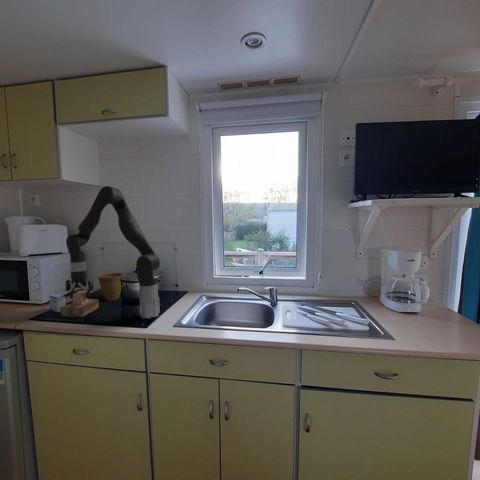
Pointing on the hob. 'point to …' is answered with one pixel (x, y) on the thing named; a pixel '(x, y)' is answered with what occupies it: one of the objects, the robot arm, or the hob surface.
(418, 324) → the hob surface
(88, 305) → the walnut plinth
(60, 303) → the medicine box
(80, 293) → the terracotta block
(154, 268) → the robot arm
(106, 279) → the plant pot
